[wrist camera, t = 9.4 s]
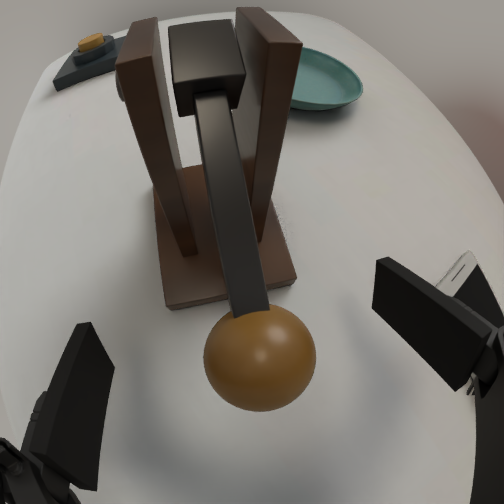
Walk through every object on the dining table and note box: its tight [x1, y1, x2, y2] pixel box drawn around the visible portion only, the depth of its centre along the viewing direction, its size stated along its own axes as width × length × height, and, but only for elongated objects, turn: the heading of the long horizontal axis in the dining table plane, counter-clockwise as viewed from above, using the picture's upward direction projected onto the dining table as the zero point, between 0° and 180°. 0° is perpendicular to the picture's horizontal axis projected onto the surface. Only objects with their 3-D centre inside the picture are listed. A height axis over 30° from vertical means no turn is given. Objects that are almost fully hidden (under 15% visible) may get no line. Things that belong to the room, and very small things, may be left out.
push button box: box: [53, 35, 126, 91], centre depth 27 cm, size 12×10×4 cm
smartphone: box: [436, 250, 504, 380], centre depth 16 cm, size 7×15×1 cm, turn 31°
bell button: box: [78, 33, 104, 52], centre depth 25 cm, size 4×4×2 cm
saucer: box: [290, 47, 363, 110], centre depth 26 cm, size 15×15×3 cm
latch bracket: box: [115, 7, 303, 310], centre depth 12 cm, size 10×8×14 cm
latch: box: [168, 19, 316, 412], centre depth 8 cm, size 13×4×4 cm, turn 14°
